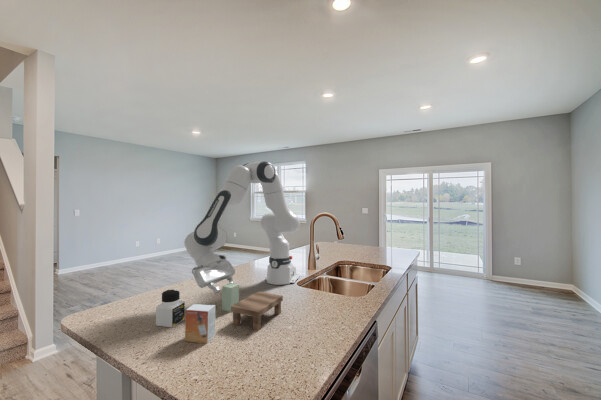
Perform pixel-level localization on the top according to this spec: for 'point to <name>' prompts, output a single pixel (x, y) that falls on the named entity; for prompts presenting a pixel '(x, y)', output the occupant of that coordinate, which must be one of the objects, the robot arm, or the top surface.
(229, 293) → the green block
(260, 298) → the stool
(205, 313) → the small box
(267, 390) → the top surface
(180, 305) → the medicine bottle
